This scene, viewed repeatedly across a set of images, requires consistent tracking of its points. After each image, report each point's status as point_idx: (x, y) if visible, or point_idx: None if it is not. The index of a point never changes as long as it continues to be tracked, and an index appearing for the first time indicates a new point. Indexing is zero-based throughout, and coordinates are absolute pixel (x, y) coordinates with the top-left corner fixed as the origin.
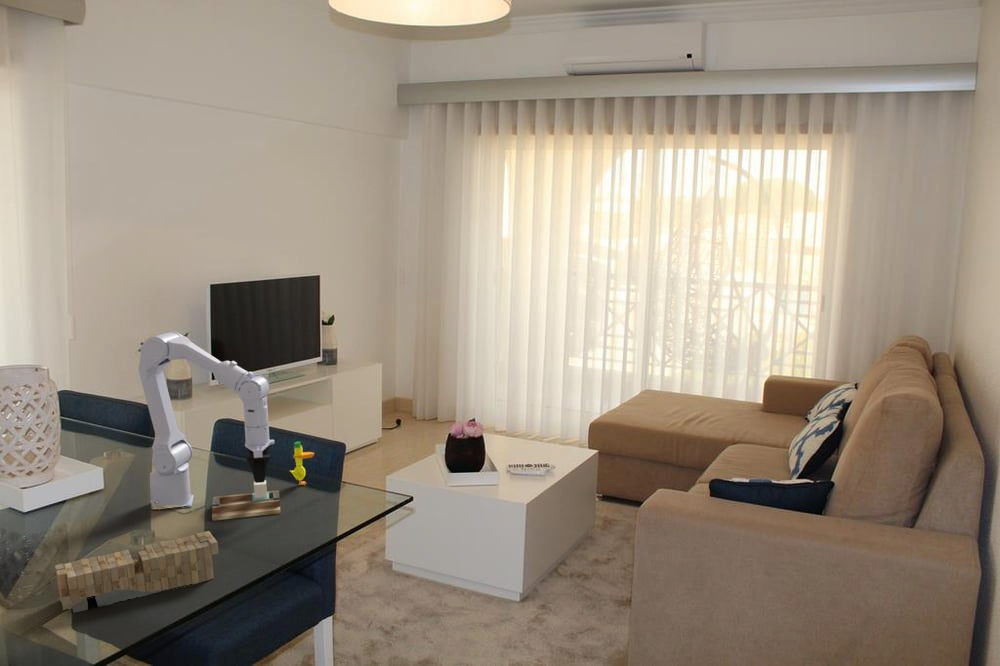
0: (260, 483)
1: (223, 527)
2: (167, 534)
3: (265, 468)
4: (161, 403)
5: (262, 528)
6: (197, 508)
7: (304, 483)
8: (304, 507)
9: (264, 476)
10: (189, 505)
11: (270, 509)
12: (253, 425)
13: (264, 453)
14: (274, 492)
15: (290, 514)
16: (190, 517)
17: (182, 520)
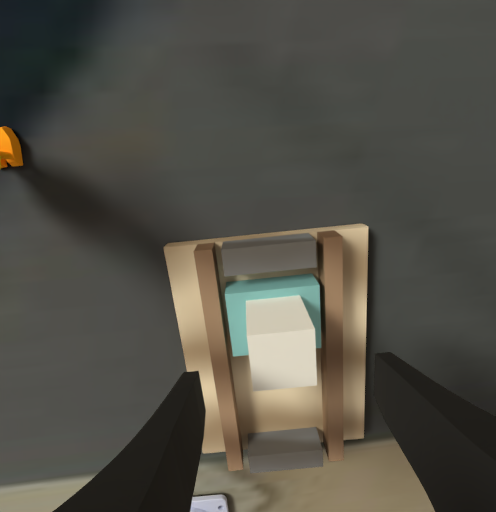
0: (297, 357)
1: None
2: (422, 506)
3: (488, 415)
4: None
5: (491, 275)
6: (237, 476)
7: (7, 135)
8: (320, 122)
9: (419, 373)
10: (226, 502)
11: (356, 265)
12: None
13: (157, 498)
14: (236, 268)
15: (386, 181)
16: (310, 480)
17: (328, 493)
